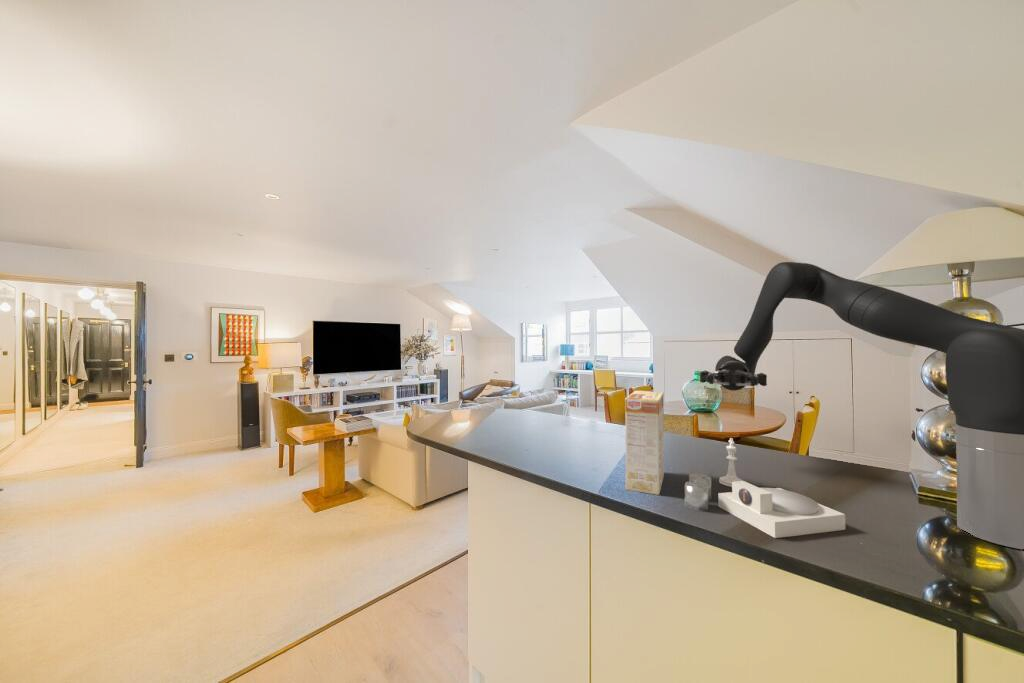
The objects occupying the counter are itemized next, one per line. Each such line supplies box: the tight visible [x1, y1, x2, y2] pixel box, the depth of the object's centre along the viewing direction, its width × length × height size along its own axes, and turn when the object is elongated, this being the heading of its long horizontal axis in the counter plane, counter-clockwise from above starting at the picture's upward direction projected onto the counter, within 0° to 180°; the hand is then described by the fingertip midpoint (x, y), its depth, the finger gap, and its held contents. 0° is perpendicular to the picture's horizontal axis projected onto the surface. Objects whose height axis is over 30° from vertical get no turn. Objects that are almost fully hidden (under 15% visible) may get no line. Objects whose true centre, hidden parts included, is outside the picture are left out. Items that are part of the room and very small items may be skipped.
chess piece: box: [718, 437, 744, 488], centre depth 83 cm, size 5×5×10 cm
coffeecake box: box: [624, 390, 665, 496], centre depth 85 cm, size 15×7×20 cm, turn 154°
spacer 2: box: [684, 481, 709, 512], centre depth 71 cm, size 4×4×4 cm
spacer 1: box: [688, 472, 712, 501], centre depth 76 cm, size 4×4×4 cm
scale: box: [717, 480, 846, 539], centre depth 67 cm, size 14×12×6 cm
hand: (731, 380), depth 89 cm, fingers open, 8 cm apart
